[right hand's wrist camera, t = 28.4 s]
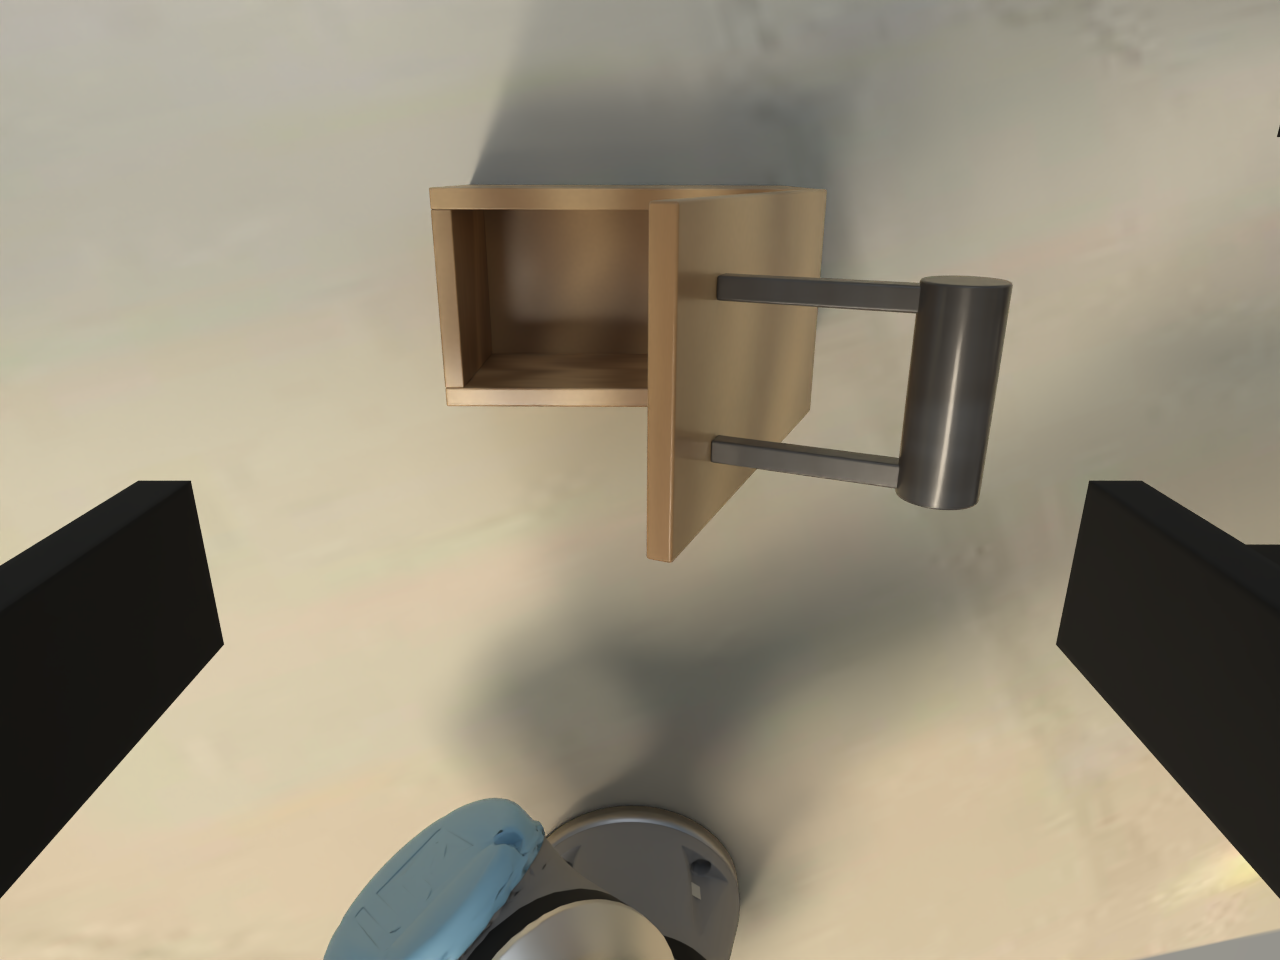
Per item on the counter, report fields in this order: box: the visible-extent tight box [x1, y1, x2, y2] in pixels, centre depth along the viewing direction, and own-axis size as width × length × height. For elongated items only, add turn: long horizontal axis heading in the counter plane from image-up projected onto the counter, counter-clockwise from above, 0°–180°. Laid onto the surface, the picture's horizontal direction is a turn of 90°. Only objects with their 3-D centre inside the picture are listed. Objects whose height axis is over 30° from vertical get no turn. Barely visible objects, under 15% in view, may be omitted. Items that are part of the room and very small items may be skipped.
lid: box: [647, 189, 1013, 562], centre depth 27 cm, size 17×10×8 cm
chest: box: [429, 185, 811, 407], centre depth 41 cm, size 16×10×9 cm, turn 90°
